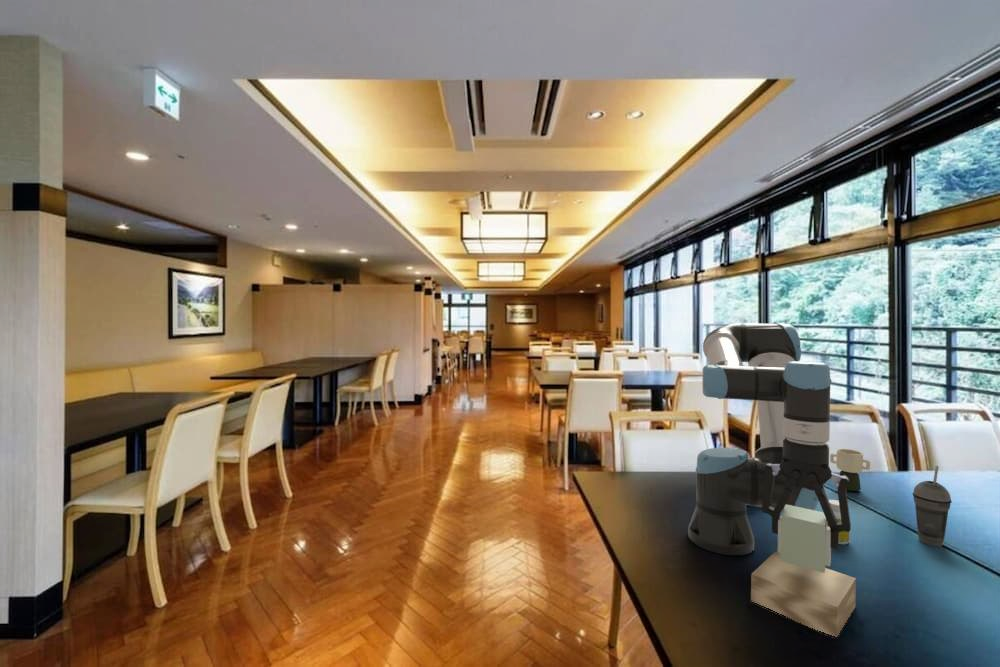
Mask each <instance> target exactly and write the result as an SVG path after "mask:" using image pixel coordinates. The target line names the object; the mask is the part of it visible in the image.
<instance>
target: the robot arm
mask: <svg viewBox="0 0 1000 667" xmlns="http://www.w3.org/2000/svg"><path fill="white" fill-rule="evenodd" d="M702 349H703V350H702V352H703V353H704V356H705V357H706V359H707V361H708V364H707V365H705V366H704V367H703V368H702V394H703V396H705V397H707V398H714V399H715V398H717V399H719V400H723V399H724V400H725V399H727V400H741V401H742V400H746V401H756V403H757V414H758V416H757V417H758V425H759V428H758V429H759V437H760V447H759V448H758V449H756V450H755V452H754V457H752V456H749V454H748V452H747V451H745V450H744V449H741V448H735V447H724V446H723V447H713V448H707V449H704V450H702V451H700V452H699V454H698V455H697V457H696V467H695V472H696V487H695V488H696V491H695V492H696V493H695V494H696V495H695V496H696V497H695V508H694V512H693V514H692V516H691V519H690V522H689V524H688V526H687V527H688V528H687V532H688V533H687V534H688V539H689V540H690V541H691V542H692V543H693V544H695V545H696V546H698V547H700V548H701V549H703V550H706V551H709V552H711V553H716V554H718V555H719V554H720V555H724V554H725V556H733V555H735V556H737V555H739V556H745V555H749V554H751V553H752V551H753V552H754V550H755V537H754V534H753V531H752V528H751V525H750V522H749V519H748V514H747V512H748V511H747V509H748V506H747V505H750V506H749V507H757V508H761V512H762V513H764V514H767V515H769V516H770V517H771V532H772V533H773V534H776V535H777V552H779V553H780V552H781V514H782V512H783V509H784V507H785V505H786V504H787V505H791V506H796V507H801V508H805V509H810V510H815V511H816V508H817V506H818V504H819V505H820V507H821V509H822V512H824V515H825V517H826V520H827V522H828V525H829V527H826V545H825V565H826V566H825V567H831V560H832V549H835V550H837V549H838V548H839V544H838V537H839V532H841V531H845V532H849V533H850V531H851V526H852V525H851V518H850V509H849V503H848V502H849V501H848V494H847V490H846V489H847V485H848V480H849V478H848V477H847V476H845V475H843V476H840V475H839V474H837V473H834V472H832V470H831V468H830V445H829V444H828V442H829V441H830V434H831V432H830V430H831V428H830V427H831V426H830V424H831V421H830V417H831V416H830V412H831V411H830V409H831V402H830V401H831V385H832V379H831V367H830V366H829V365H828V364H827V363H825V362H817V361H803V360H802V361H801V356H802V348H801V340H800V336H799V333H798V330H797V329H796V328H795V326H793V325H792V324H788V323H779V322H773V323H748V322H747V323H743V322H742V323H741V322H739V323H738V322H737V323H736V322H734V323H729V324H725V325H724V324H723V325H722V326H719V327H717V328H715V329H714V330H712V331H710V332H709V333H708V334H707V335H706V337H705V338H704V340H703V343H702ZM743 363H747V366H746V365H743ZM829 480H832V481H833V485H834V486H835V487H837V497H838V498H837V499H838V501H839V506H840V514H841V522H837V520H836V517H835V515H834V513H833V510H832V508H831V505H830V503H829V500H830V499H829V498H828V496H827V494H826V493H827V492H826V490H825V487H824V485H825V484H826V483H827V482H828V481H829ZM735 556H734V557H735Z"/></svg>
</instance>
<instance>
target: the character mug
mask: <svg viewBox="0 0 1000 667" xmlns="http://www.w3.org/2000/svg"><path fill="white" fill-rule="evenodd" d="M834 458H836V460H834ZM829 463H832V464H836V467H837V469H838V470H840V472H839V474H838V475H840V476H843V475H845V476H847V477H848V478H849V480H848V485H847V489H846V491H850V492H851V491H853V492H856V491H861V489H862V488H861V480H860V475H859V474H860V473H862V472H863V471H864V470H867V471H870V470H871V461H870V460H869V459H864V454H863V452H862V451H859V450H855V449H847V448H838V449H837V450H836V453H829ZM864 463H865V465H866V466H864Z"/></svg>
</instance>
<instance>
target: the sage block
mask: <svg viewBox="0 0 1000 667" xmlns="http://www.w3.org/2000/svg"><path fill="white" fill-rule="evenodd" d="M780 516H781V552H780V561H783V562H787V563H790V564H794V565H797V566H801V567H804V568H808V569H811V570H815V571H818V572H822V573H824V572H825V568H826V567H827V566H826V565H825V545H826V527H827V520H826V517H825V515H824V512H823V511H819V510H816V509H815V510H810V509H805V508H801V507H796V506H791V505H787V504H786V505H785V507H784V509H783V510H782V511H781V513H780Z"/></svg>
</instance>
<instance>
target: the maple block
mask: <svg viewBox="0 0 1000 667" xmlns="http://www.w3.org/2000/svg"><path fill="white" fill-rule="evenodd" d="M750 579H751V581H750V602H751V601H752V602H754V603H757V604H759V605H761V606H764V607H766V608H769V609H771V610H773V611H775V612H777V613H779V614H778V615H780V614H782V615H784V616H786V617H785V618H787V617H788V618H787V619H789V618H790V619H789V620H791V619H792V620H791V621H793V620H794V622H796V623H799V624H800V623H801V625H804V626H806V627H807V626H808V628H810V629H812V628H813V629H812V630H814V629H815V630H814V631H817V630H818V631H817V632H819V631H821V632H824V633H826V634H829V635H832V636H835V637H837V636H838V635H839V636H840V634H841V633H840V631H841V630H842V631H843V629H844V628H843V627H845V626H844V625H846V624H847V622H848V621H847V620H849V619H850V617H851V615H852V614H851V613H853V612H854V610H855V608H856V596H857V594H856V593H857V592H856V590H857V589H856V588H857V578H856V577H853V576H850V575H849V574H848V575H847V574H844V573H842V572H839V571H835V570H833V569H830V568H827V567H825V572H824V573H822V572H818V571H815V570H811V569H808V568H804V567H801V566H797V565H794V564H790V563H787V562H783V561H780V553H779V552H778V550H777V551H776V550H775V551H774V552H773V553H772V554H771V555H770V556H769V557H767V559H765V561H763V562H762V563H761V564H760V565H759V566H758V567H757V568H755V570H754V571H753V572H751V577H750ZM752 602H751V603H752ZM754 603H753V604H754ZM757 604H756V605H757ZM759 605H758V606H759ZM761 606H760V607H761ZM764 607H763V608H764ZM766 608H765V609H766ZM773 611H772V612H773ZM775 612H774V613H775ZM777 613H776V614H777ZM782 615H781V616H782ZM784 616H783V617H784ZM848 618H849V619H848ZM845 623H846V624H845ZM842 628H843V629H842ZM842 631H841V632H842ZM821 632H820V633H821ZM839 633H840V634H839ZM826 634H825V635H826ZM839 636H838V637H839Z"/></svg>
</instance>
